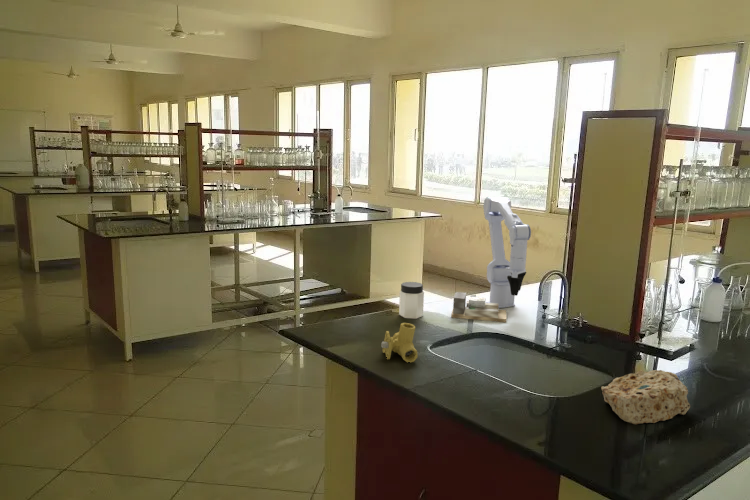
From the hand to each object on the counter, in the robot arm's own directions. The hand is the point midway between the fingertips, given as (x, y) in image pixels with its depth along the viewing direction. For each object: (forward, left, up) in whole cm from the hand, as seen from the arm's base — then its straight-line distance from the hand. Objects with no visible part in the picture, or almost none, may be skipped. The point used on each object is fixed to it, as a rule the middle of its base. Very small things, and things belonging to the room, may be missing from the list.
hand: (515, 292), depth 209 cm
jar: (+35, -17, -10) cm, 40 cm away
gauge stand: (+11, -7, -9) cm, 16 cm away
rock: (+22, +72, -10) cm, 76 cm away
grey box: (+13, -6, -8) cm, 16 cm away
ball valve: (+60, +17, -10) cm, 63 cm away
